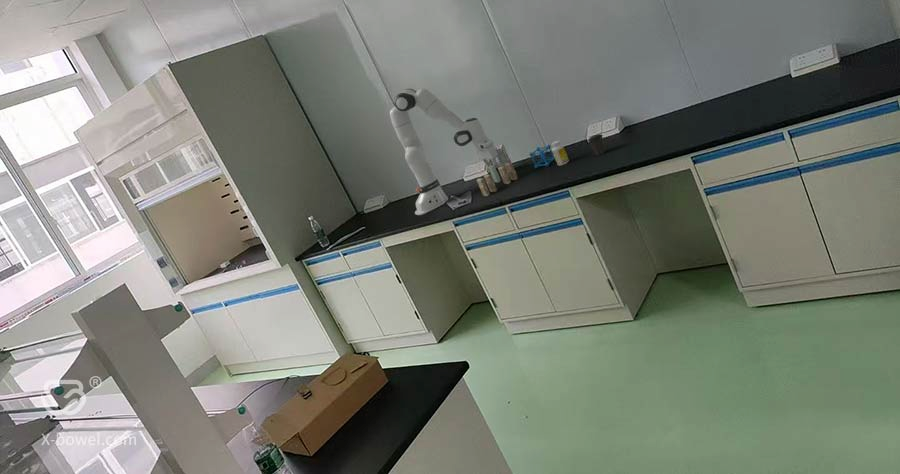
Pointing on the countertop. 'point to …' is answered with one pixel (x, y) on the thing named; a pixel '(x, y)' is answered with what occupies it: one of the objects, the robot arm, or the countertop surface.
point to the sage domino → (494, 173)
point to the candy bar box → (502, 156)
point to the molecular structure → (542, 156)
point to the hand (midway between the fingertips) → (491, 165)
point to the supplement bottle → (559, 153)
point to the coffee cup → (597, 144)
